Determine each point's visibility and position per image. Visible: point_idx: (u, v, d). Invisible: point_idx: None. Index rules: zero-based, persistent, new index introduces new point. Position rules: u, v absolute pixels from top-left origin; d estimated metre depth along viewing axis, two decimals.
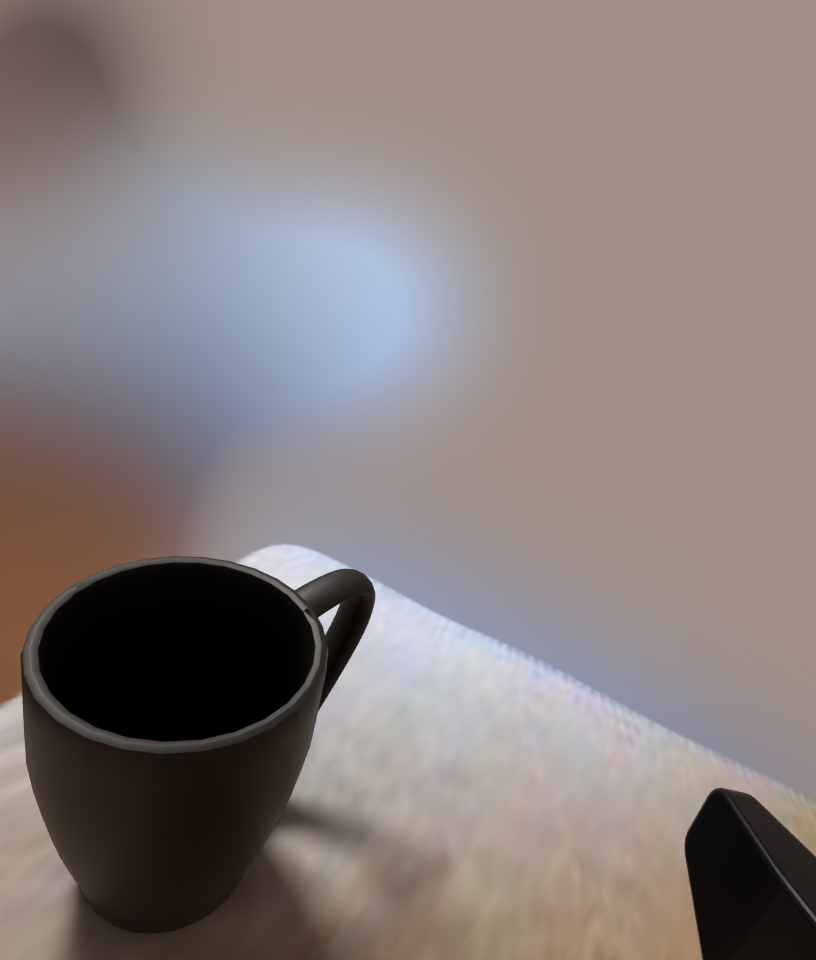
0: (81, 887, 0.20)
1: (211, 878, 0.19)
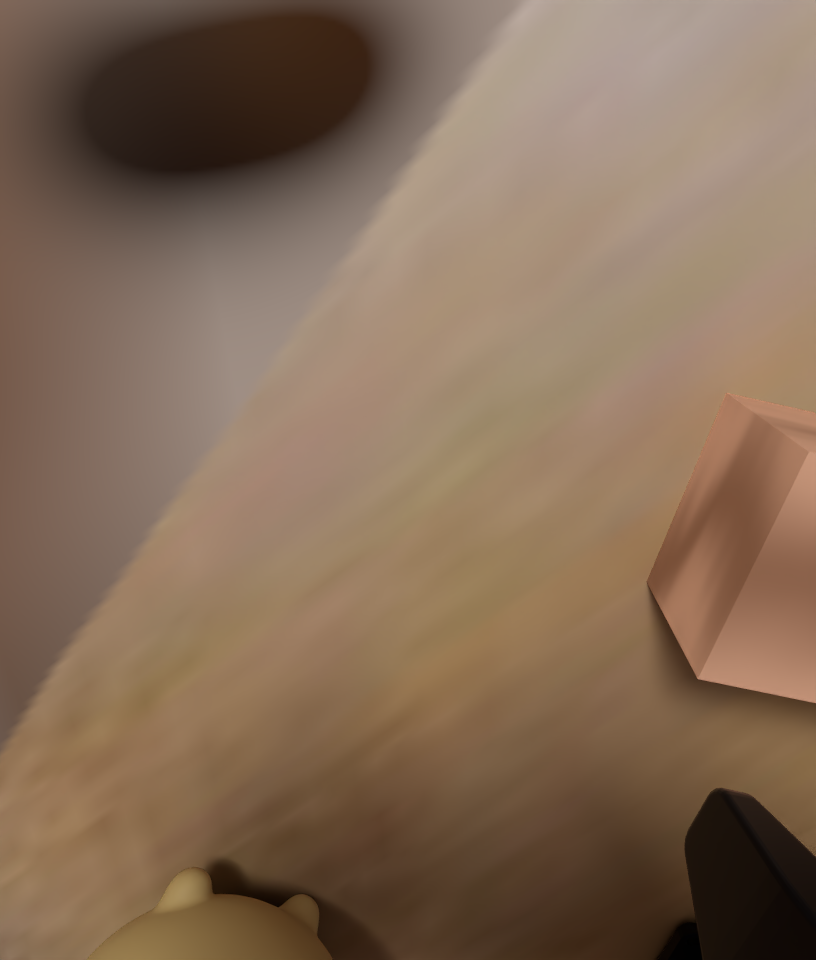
0: None
1: None
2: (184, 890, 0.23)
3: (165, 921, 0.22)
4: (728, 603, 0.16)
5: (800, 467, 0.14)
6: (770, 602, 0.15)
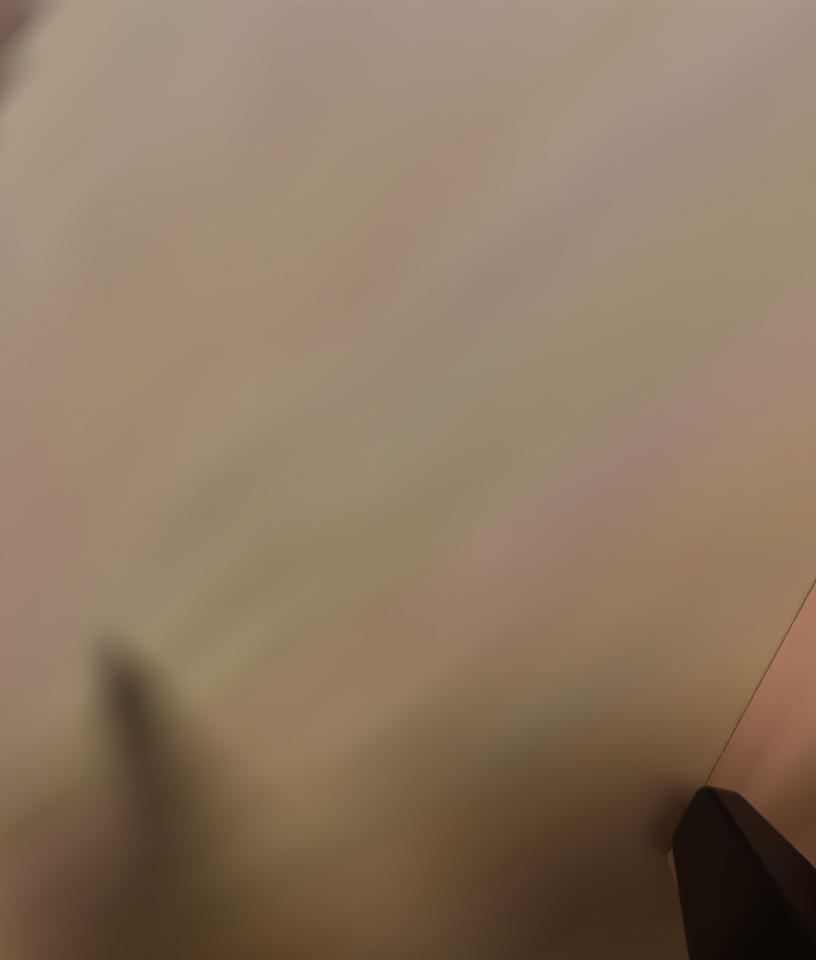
0: None
1: None
2: None
3: None
4: None
5: None
6: None
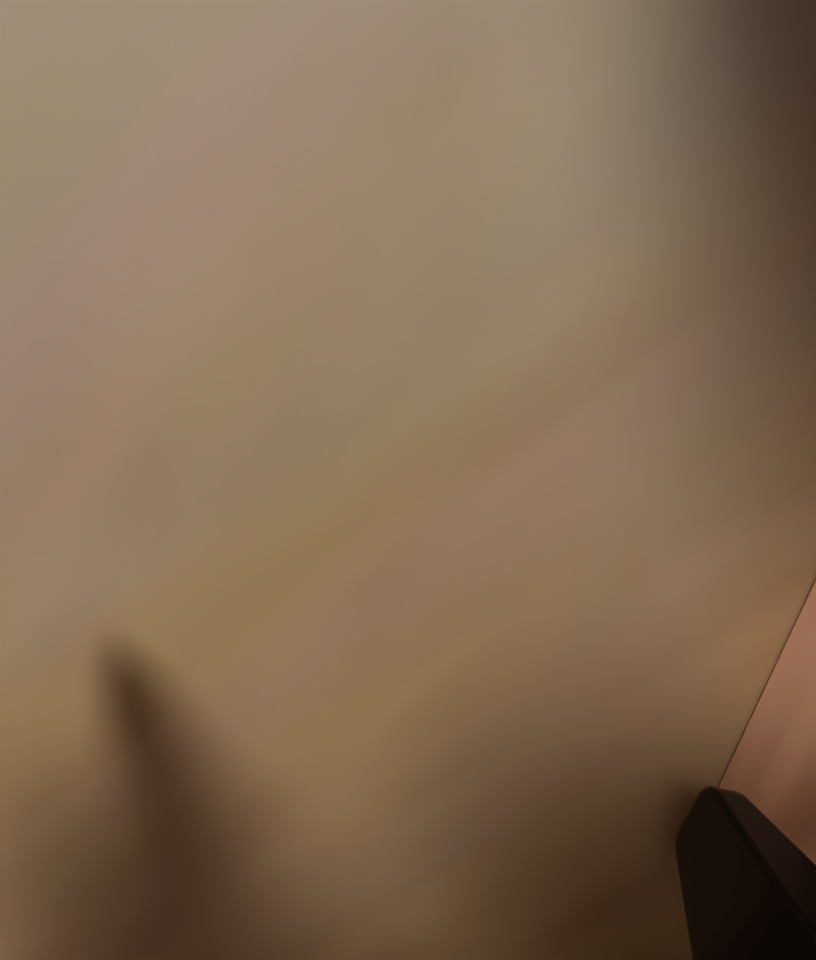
0: None
1: None
2: None
3: None
4: None
5: None
6: None
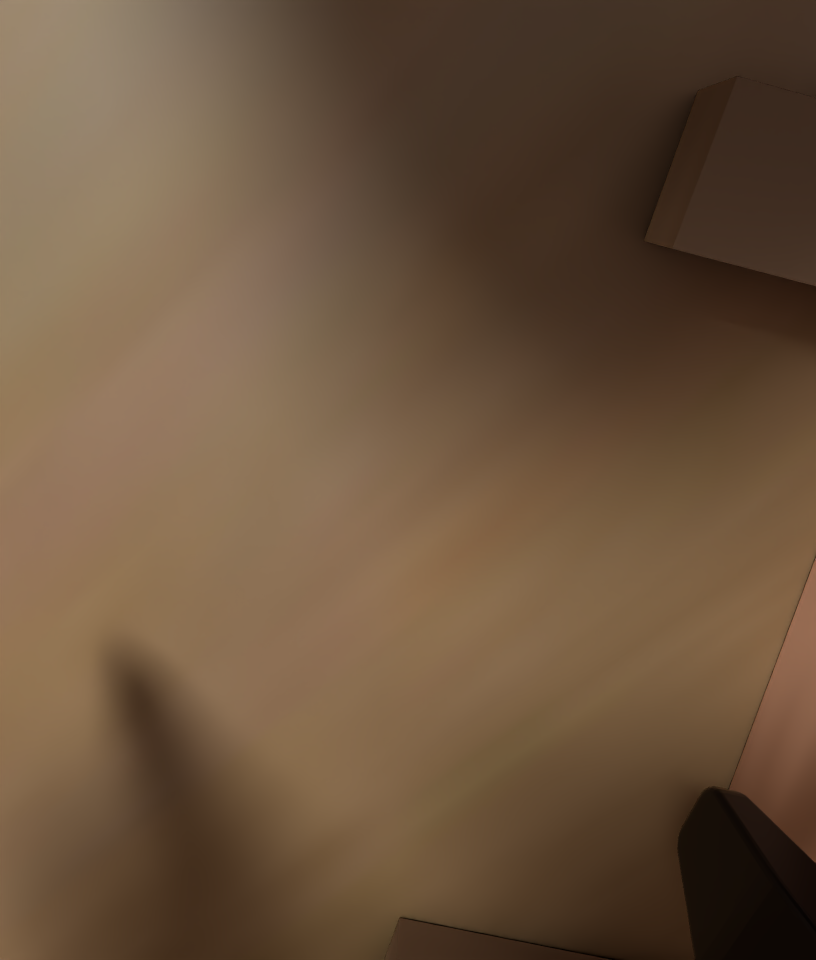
0: None
1: None
2: None
3: None
4: None
5: None
6: None
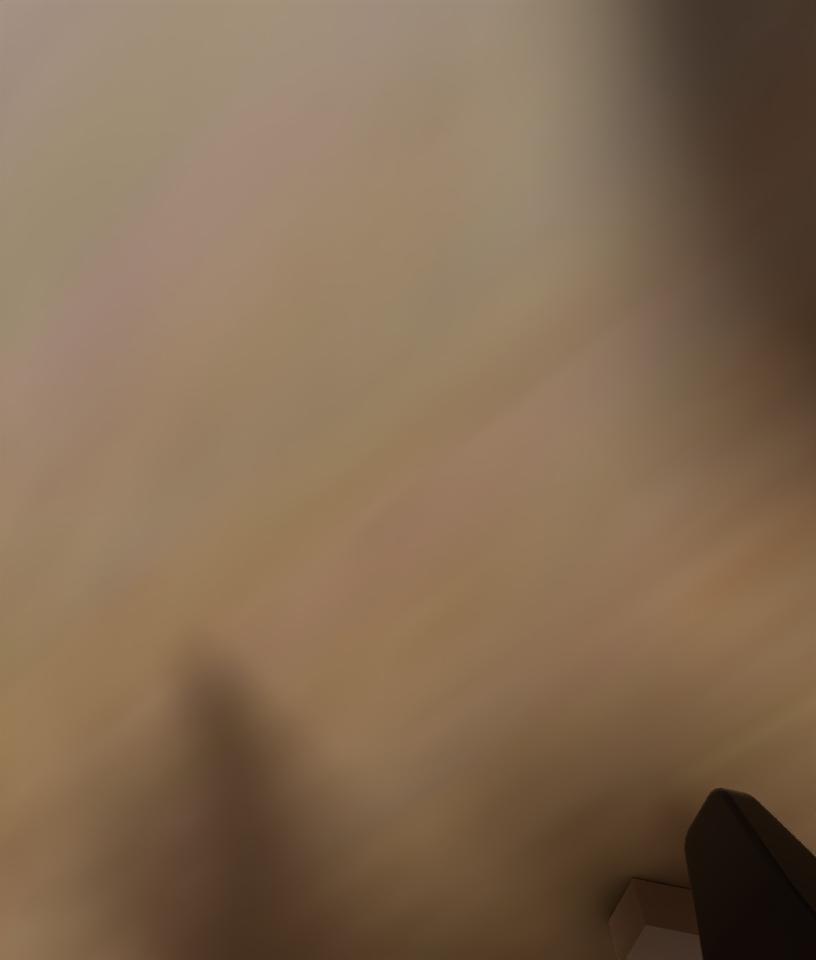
0: None
1: None
2: None
3: None
4: None
5: None
6: None
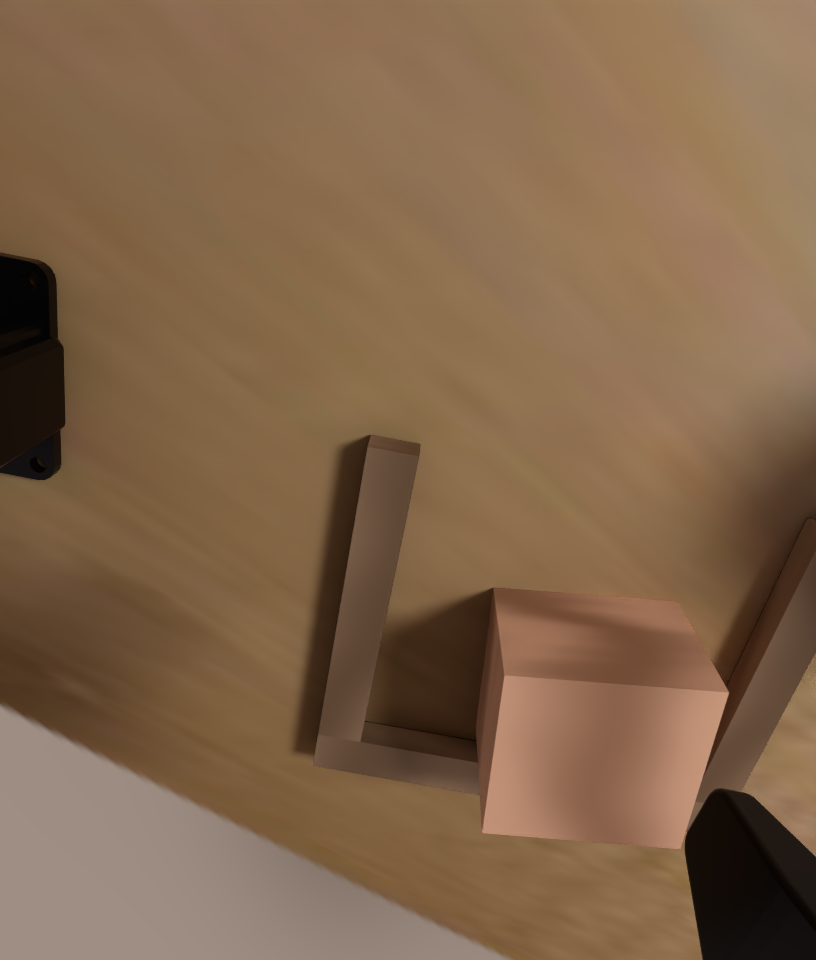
0: None
1: None
2: None
3: None
4: (580, 676, 0.18)
5: (714, 691, 0.18)
6: (589, 704, 0.18)
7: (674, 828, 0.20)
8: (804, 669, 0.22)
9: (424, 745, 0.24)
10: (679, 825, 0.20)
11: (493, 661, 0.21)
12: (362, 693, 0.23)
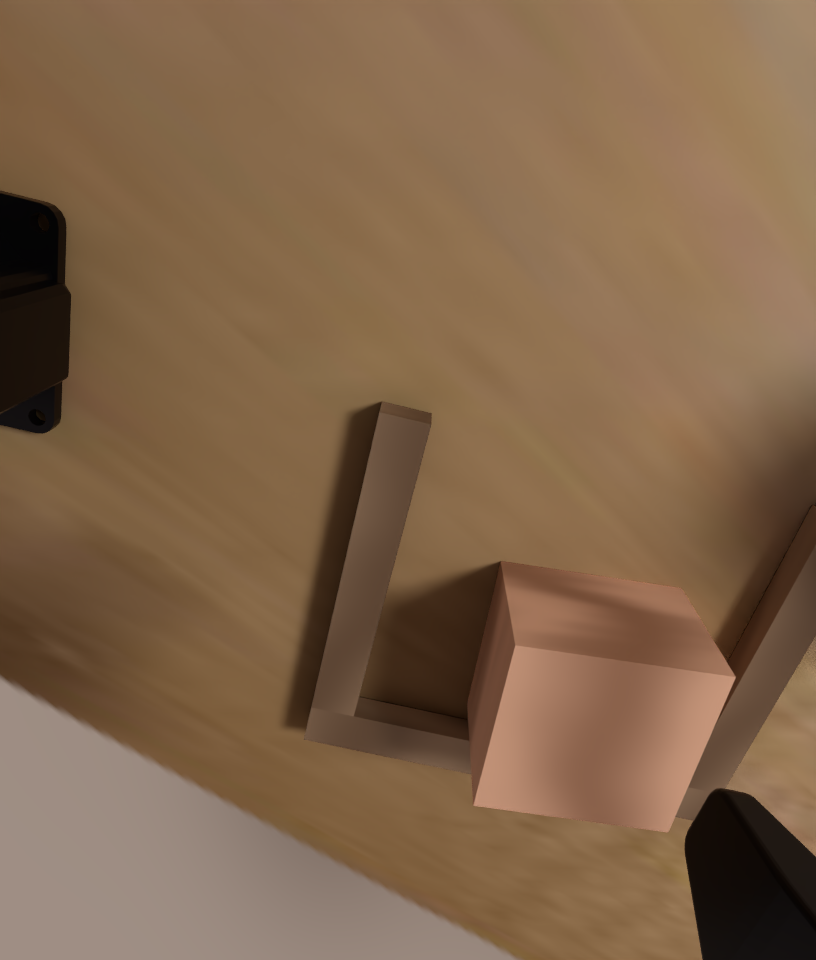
0: None
1: None
2: None
3: None
4: (590, 651, 0.18)
5: (721, 674, 0.18)
6: (597, 680, 0.18)
7: (665, 810, 0.20)
8: (801, 656, 0.22)
9: (417, 722, 0.24)
10: (670, 808, 0.20)
11: (498, 634, 0.20)
12: (359, 667, 0.23)
